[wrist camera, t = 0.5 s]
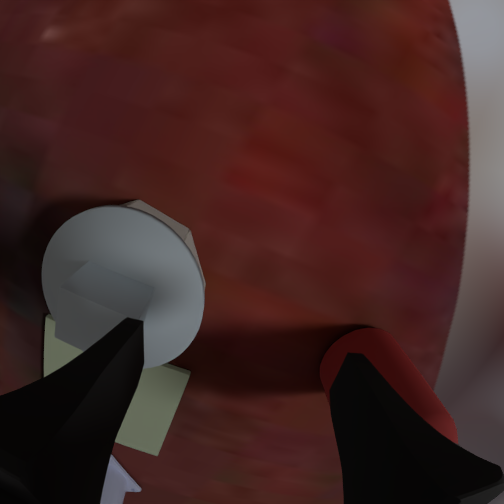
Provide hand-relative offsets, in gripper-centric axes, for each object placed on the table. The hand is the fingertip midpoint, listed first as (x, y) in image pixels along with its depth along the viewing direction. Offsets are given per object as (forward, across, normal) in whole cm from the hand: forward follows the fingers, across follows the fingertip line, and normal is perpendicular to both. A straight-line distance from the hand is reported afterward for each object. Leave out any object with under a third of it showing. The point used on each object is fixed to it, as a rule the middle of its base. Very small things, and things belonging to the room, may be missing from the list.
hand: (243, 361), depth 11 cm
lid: (+7, +7, +3) cm, 10 cm away
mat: (+8, +10, +15) cm, 20 cm away
